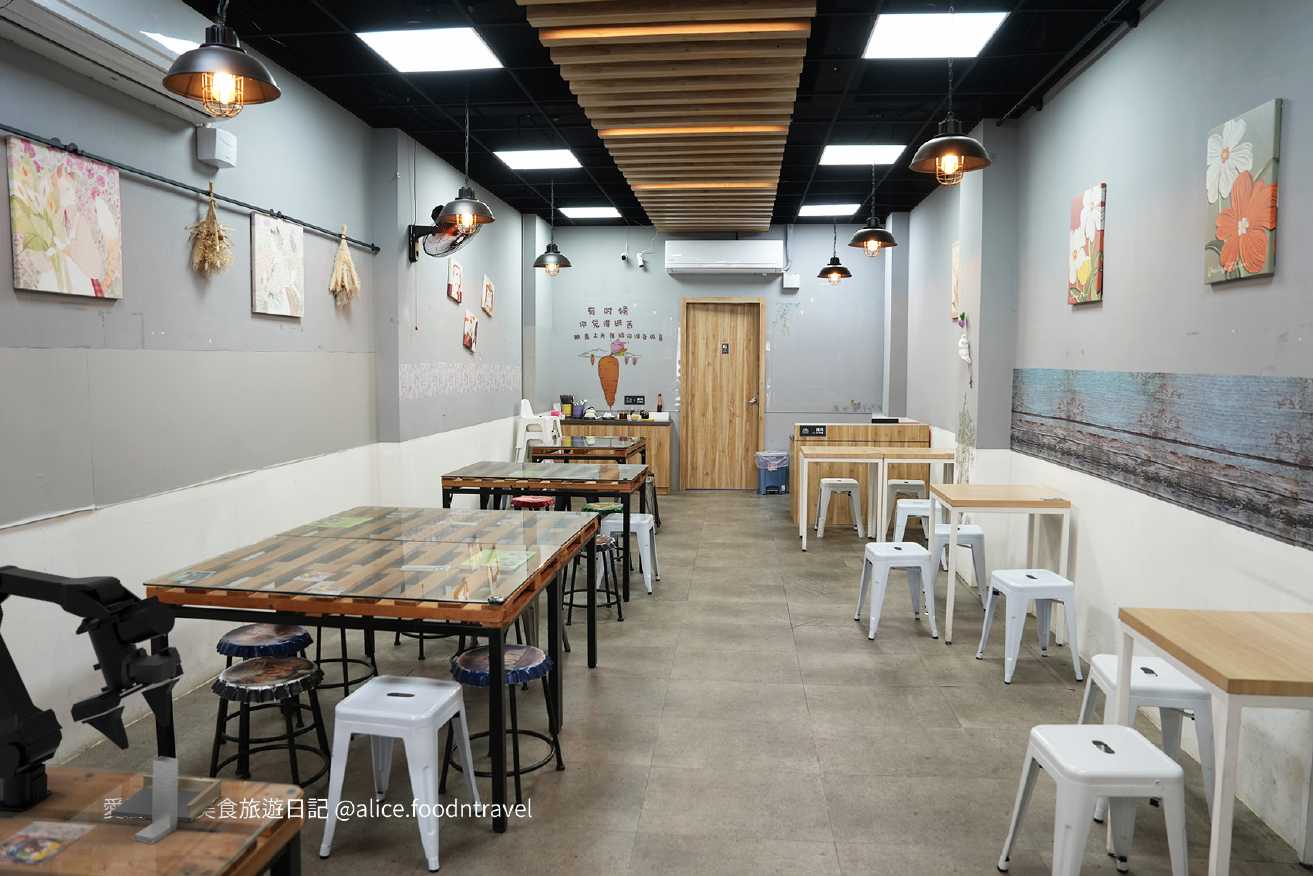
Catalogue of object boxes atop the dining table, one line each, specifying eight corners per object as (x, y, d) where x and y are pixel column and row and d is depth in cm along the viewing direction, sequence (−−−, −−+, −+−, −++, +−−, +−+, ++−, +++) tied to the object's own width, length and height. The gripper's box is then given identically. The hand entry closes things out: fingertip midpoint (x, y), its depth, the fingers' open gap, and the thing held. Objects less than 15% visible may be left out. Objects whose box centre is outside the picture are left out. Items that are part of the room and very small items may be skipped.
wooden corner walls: (111, 816, 140) (111, 799, 140) (146, 790, 149) (146, 774, 149) (191, 822, 140) (191, 805, 140) (221, 796, 149) (221, 780, 149)
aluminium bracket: (176, 828, 138) (178, 759, 137) (152, 844, 133) (154, 772, 132) (159, 825, 139) (160, 756, 138) (134, 840, 134) (135, 769, 133)
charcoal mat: (111, 816, 140) (111, 811, 140) (146, 790, 149) (146, 785, 149) (191, 822, 140) (191, 817, 140) (221, 796, 149) (221, 791, 149)
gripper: (113, 655, 129) (145, 748, 129) (194, 621, 148) (223, 703, 148) (54, 674, 131) (86, 766, 131) (142, 639, 149) (170, 720, 149)
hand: (146, 737), depth 140 cm, fingers open, 9 cm apart
